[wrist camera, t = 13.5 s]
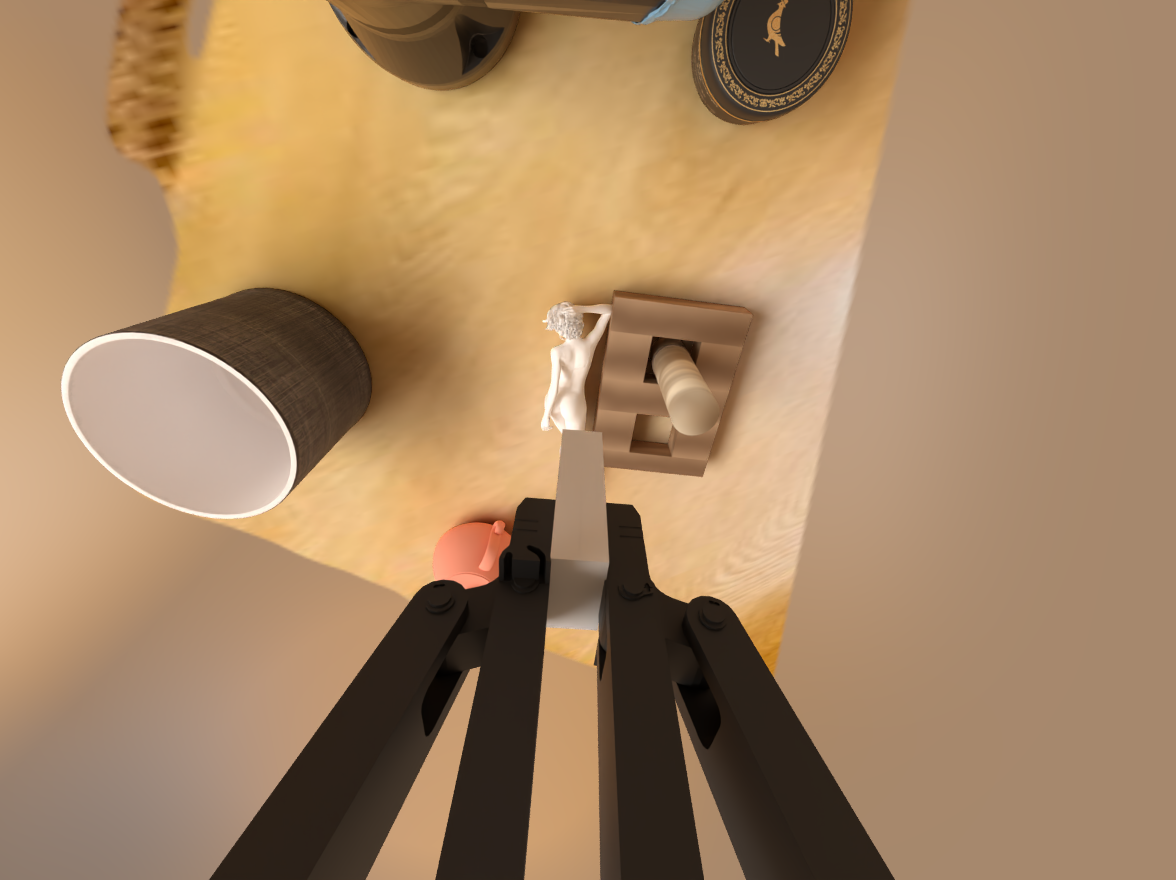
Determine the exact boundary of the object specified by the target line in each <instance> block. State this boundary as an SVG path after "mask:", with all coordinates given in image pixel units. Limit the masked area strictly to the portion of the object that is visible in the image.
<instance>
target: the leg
mask: <svg viewBox="0 0 1176 880" xmlns="http://www.w3.org/2000/svg"><path fill="white" fill-rule="evenodd" d="M649 357H650V361H651V364H652V369H653V372H654V374H655V375H656V378H657V381H658V384H659V387H660V390H661V392H662V395H663V398H664V401H665V404H666V407H667V410H668V412H669V415H670V418H671V421H672V424H673V426H674V427H675V428H676V430H678V431H679V432H680V433H682V434H685V435H692V436H693V435H700V434H703V433H705V432H707V431H709V430H710V429H711V428H712V427H713V426H714V425H715V424H716V422H717V420H718V418H719V413H720V409H719V405H718V403H717V401H716V400H715V398H714V396H713V394H712V393H711V391H710V389H709V388H708V386H707V384H706V382H705V381H704V379H703V377H702V376H701V374H700V372H699V370H698V369H697V367H696V365H695V364H694V362H693V360H692V358H691V355H690V353H689V352H688V350H687V349H686V348H685V346H684V345H683V343H682V342H681V341H680V340H679V339H672V338H664V337H661V338H659V339H658V340H656V341H655V342H654V343H653V345H652V346H651V348H650V352H649Z"/></svg>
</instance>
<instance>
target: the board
mask: <svg viewBox="0 0 1176 880" xmlns="http://www.w3.org/2000/svg"><path fill="white" fill-rule="evenodd" d="M612 305H613V306H612V314H611V316H610V319H609V325H608V332H607V339H606V346H605V352H604V359H603V366H602V372H601V379H600V386H599V392H598V399H597V406H596V413H595V419H594V426H593V432H602V441H603V459H604V467H611V468H621V469H631V470H640V471H650V472H660V473H669V474H679V475H689V476H698V477H703V474H704V471H705V468H706V464H707V461H708V458H709V455H710V452H711V448H712V445H713V442H714V439H715V436H716V432H717V429H718V426H719V423H720V420H721V416H722V413H723V410H724V407H725V403H726V400H727V397H728V394H729V391H730V387H731V384H732V381H733V378H734V375H735V371H736V368H737V365H738V362H739V358H740V355H741V352H742V349H743V346H744V342H745V339H746V336H747V333H748V330H749V326H750V323H751V320H752V317H753V314H752V313H750V312H749V311H748V310H747V309H746V308H744V307H738V306H730V305H722V304H715V303H707V302H699V301H691V300H684V299H676V298H668V297H661V296H653V295H645V294H637V293H630V292H622V291H614V292H613V299H612ZM652 336H656V337H664V338H672V339H680V340H688V341H694V342H693V346H692V350H691V354H690V355H691V358H692V360H693V362H694V364H695V365H696V367H697V369H698V370H699V372H700V374H701V376H702V377H703V379H704V381H705V382H706V384H707V386H708V388H709V389H710V391H711V393H712V394H713V396H714V398H715V400H716V401H717V403H718V405H719V409H720V413H719V418H718V420H717V422H716V424H715V425H714V426H713V427H712V428H711V429H710V430H709V431H707V432H705V433H703V434H700V435H693V436H692V435H685V434H682V433H680V432H679V431H678V430H676V428H675V427H674V426H672V430H671V434H670V438H669V442H668V444H663V443H654V442H645V441H635V440H632V435H633V430H634V425H635V420H636V415H637V414H645V415H654V416H663V417H670V415H669V412H668V410H667V407H666V404H665V401H664V398H663V395H662V392H661V390H660V387H659V384H658V381H657V378H656V375H655V374H650V373H645V371H646V366H647V361H648V356H649V351H650V346H651V341H652Z"/></svg>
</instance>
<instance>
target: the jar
mask: <svg viewBox="0 0 1176 880" xmlns="http://www.w3.org/2000/svg"><path fill="white" fill-rule="evenodd" d="M852 9H853V0H724V1H723V2H722V3H721V4H720V5H719V6H718V7H717V8H716V9H714V10H713V11H712V12H711V13H709V14H708V15H706V16H704V17H702V18H700V19H699V22H698V24H697V27H696V31H695V35H694V40H693V46H692V73H693V79H694V83H695V86H696V89H697V92H698V94H699V96H700V98H701V100H702V102H703V103H704V105H705V106H706V107H707V108H708V109H709V111H710V112H712V113H713V114H714V115H715V116H716V117H718V118H720V119H721V120H723V121H726V122H728V123H732V124H738V125H748V124H754V123H758V122H763V121H769V120H772V119H775V118H778V117H780V116H783V115H785V114H787V113H788V112H790V111H792V110H794V109H796V108H798V107H799V106H801V105H802V104H803V103H805V102H806V101H807V100H809V99H810V98H811V97H812V96H813V95H814V94H815V93H816V92H817V91H818V90H819V89H820V88H821V87H822V85H823V84H824V83H825V82H826V80H827V79H828V78H829V76H830V75H831V73H832V72H833V70H834V68H835V66H836V65H837V63H838V61H839V59H840V57H841V54H842V52H843V50H844V47H845V44H846V41H847V38H848V34H849V30H850V25H851V19H852Z"/></svg>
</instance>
